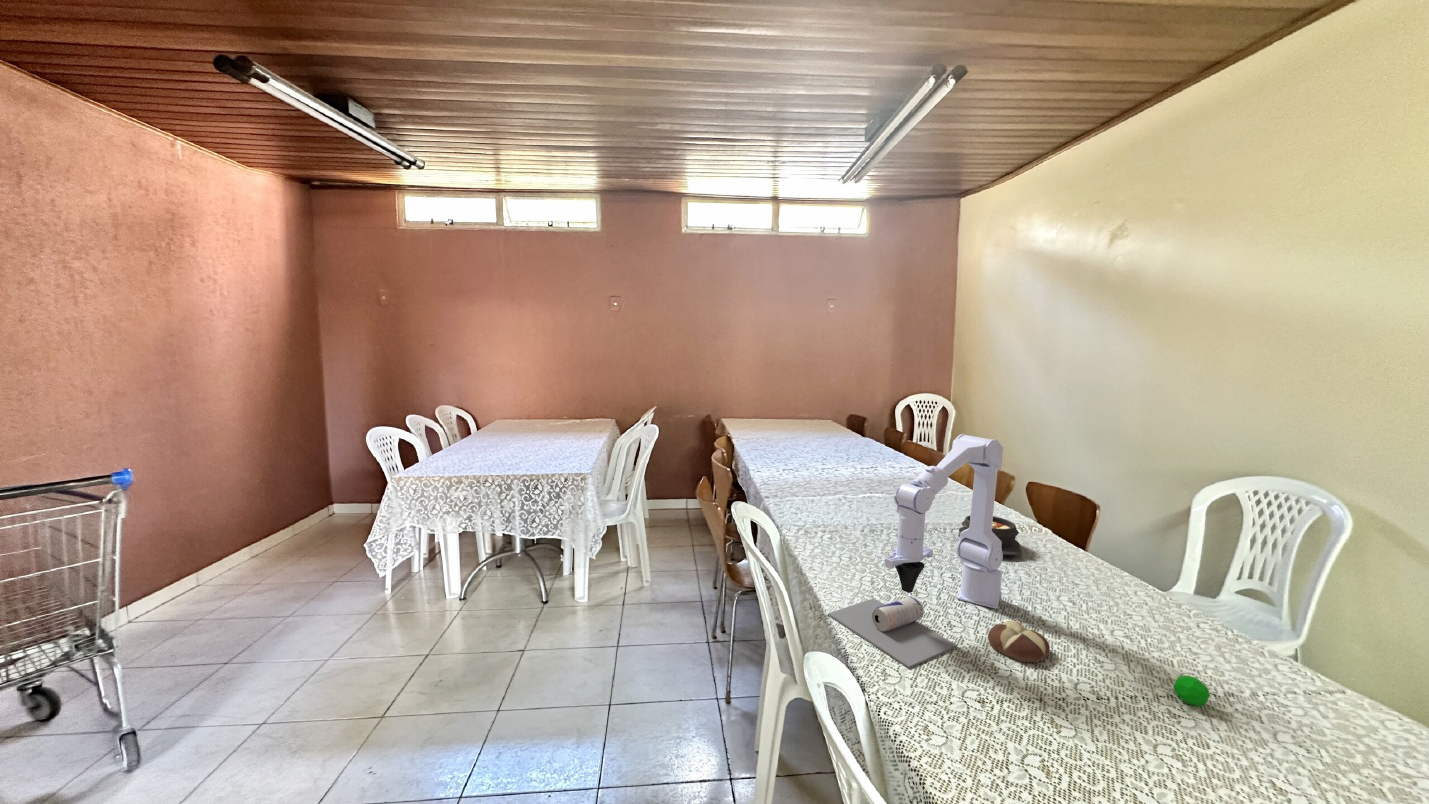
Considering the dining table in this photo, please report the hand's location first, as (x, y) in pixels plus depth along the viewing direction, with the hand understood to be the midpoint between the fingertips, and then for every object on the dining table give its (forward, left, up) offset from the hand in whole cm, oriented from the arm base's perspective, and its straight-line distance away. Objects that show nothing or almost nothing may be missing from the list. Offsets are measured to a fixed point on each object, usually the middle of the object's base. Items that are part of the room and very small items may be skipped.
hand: (907, 590), depth 122 cm
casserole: (-11, -69, -9) cm, 70 cm away
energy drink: (-2, -4, -5) cm, 7 cm away
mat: (+2, +5, -8) cm, 10 cm away
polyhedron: (-51, -3, -9) cm, 52 cm away
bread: (-23, -4, -9) cm, 25 cm away
